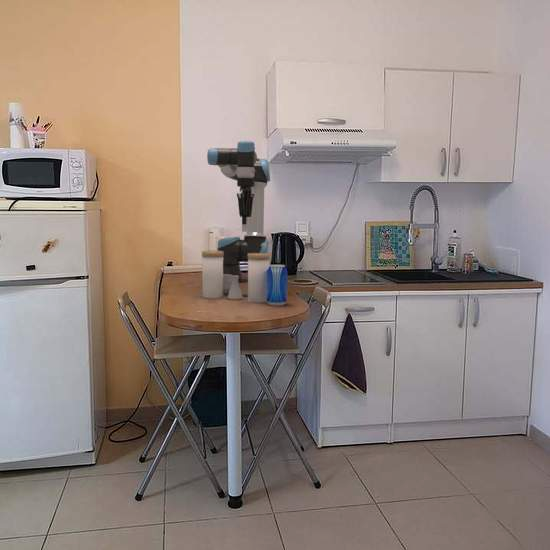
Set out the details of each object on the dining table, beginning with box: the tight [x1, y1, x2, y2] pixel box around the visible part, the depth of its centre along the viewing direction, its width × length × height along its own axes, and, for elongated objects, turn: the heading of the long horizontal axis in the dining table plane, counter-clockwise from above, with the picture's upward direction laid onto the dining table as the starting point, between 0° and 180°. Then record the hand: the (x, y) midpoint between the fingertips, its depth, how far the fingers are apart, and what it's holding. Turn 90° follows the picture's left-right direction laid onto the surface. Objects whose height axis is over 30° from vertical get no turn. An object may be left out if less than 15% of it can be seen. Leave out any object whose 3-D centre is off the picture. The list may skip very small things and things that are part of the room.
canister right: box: [247, 252, 271, 304], centre depth 229 cm, size 9×9×20 cm
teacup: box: [223, 274, 232, 293], centre depth 252 cm, size 14×11×8 cm
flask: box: [226, 275, 244, 301], centre depth 234 cm, size 7×7×10 cm
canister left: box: [201, 250, 224, 300], centre depth 237 cm, size 9×9×20 cm
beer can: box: [266, 264, 288, 307], centre depth 222 cm, size 8×8×16 cm
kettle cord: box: [223, 292, 248, 298], centre depth 241 cm, size 25×1×1 cm, turn 67°
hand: (245, 231), depth 240 cm, fingers closed
